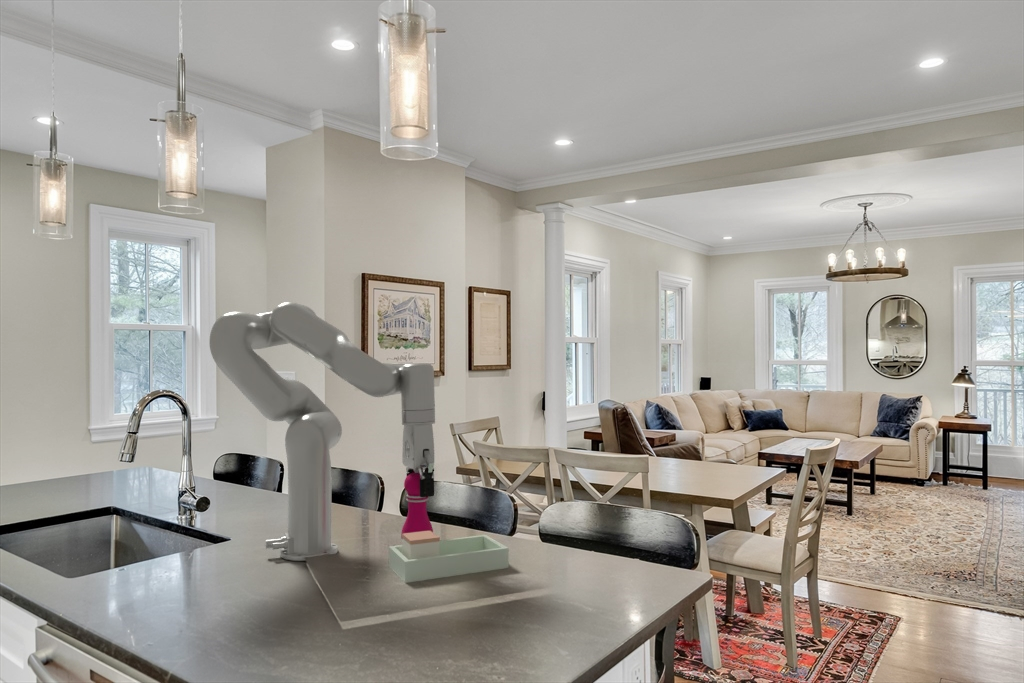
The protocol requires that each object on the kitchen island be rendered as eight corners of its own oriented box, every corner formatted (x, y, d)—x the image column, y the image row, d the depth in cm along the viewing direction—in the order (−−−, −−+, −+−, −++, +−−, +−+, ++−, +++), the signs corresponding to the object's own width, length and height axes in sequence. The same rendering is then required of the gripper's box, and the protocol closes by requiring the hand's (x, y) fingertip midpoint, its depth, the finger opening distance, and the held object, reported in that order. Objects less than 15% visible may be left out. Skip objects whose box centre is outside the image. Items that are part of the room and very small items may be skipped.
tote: (405, 588, 129) (405, 561, 129) (388, 570, 140) (388, 546, 140) (508, 572, 139) (508, 548, 139) (485, 557, 149) (485, 534, 150)
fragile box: (410, 576, 133) (410, 540, 133) (401, 568, 138) (401, 533, 138) (439, 572, 135) (439, 537, 136) (430, 564, 141) (430, 530, 141)
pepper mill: (427, 559, 148) (427, 468, 148) (396, 557, 149) (396, 467, 150) (437, 550, 155) (437, 463, 155) (407, 549, 156) (408, 462, 157)
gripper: (392, 416, 159) (393, 488, 159) (413, 421, 143) (415, 501, 143) (422, 414, 162) (424, 485, 162) (446, 418, 147) (448, 497, 146)
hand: (420, 492), depth 152 cm, fingers open, 9 cm apart
